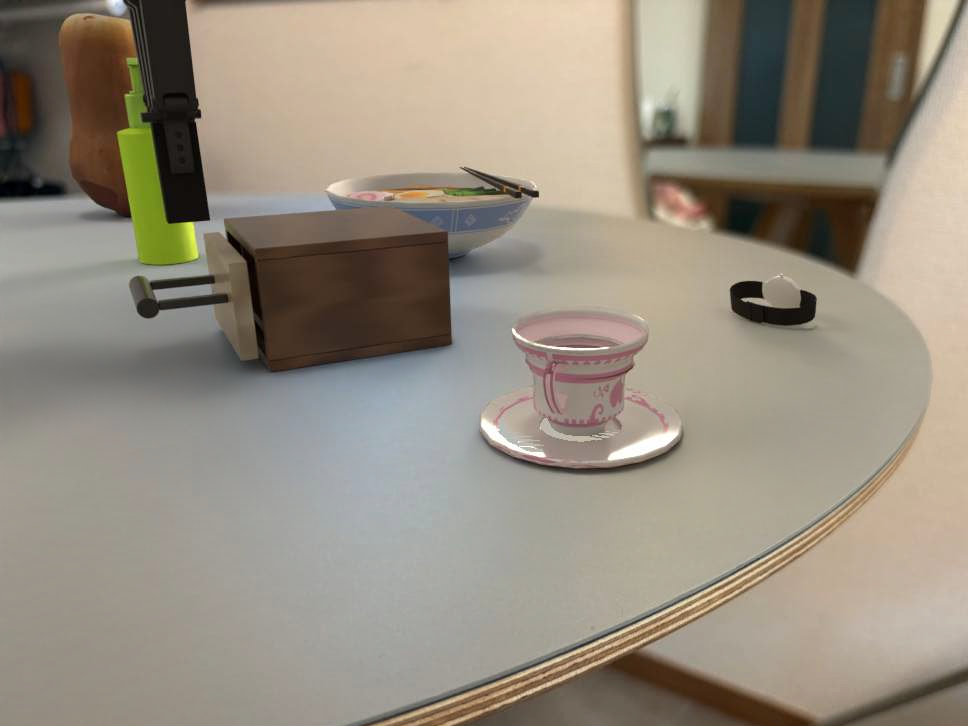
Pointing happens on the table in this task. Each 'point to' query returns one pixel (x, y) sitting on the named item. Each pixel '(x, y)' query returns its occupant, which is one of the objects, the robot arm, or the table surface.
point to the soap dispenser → (149, 188)
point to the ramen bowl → (444, 202)
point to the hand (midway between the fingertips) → (188, 220)
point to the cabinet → (346, 284)
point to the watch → (774, 302)
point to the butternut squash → (98, 103)
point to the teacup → (582, 392)
